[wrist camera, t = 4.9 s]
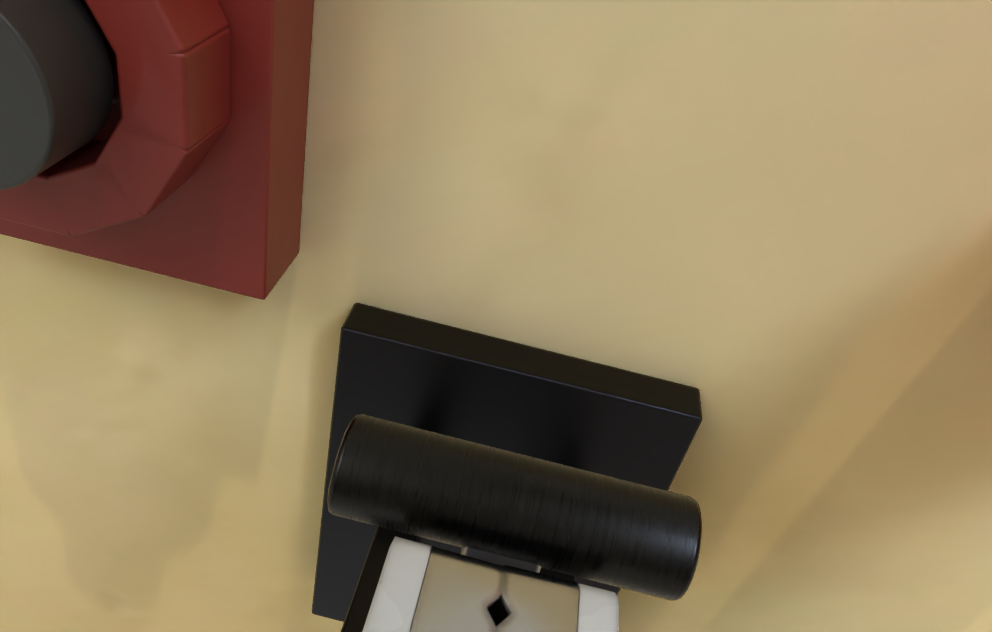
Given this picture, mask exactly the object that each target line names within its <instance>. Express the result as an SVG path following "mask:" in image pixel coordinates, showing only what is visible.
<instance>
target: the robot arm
mask: <svg viewBox="0 0 992 632" xmlns="http://www.w3.org/2000/svg"><path fill="white" fill-rule="evenodd" d="M431 548H432V546H430V545H426V544H423V543H419V542H415V541H411V540H407V539H403V538H399V537H396V536H395V538H394V540H393V542H392V544H391V545H390V547H389V551H388V554H387V557H386V560H385V563H384V566H383V569H382V572H381V575H380V579H379V582H378V585H377V588H376V591H375V594H374V597H373V600H372V603H371V607H370V610H369V613H368V616H367V619H366V622H365V625H364V628H363V631H362V632H619V600H618V598H617V595H616V593H615V592H612V591H608V590H604V589H600V588H596V587H591V586H587V585H583V584H577V582H576V581H571V580H567V579H563V578H559V577H554V576H550V575H546V574H542V573H538V572H533V571H529V570H525V569H521V568H516V567H512V566H508V565H504V566H501V565H498V564H494V563H491V562H487V561H484V560H480V559H476V558H473V557H469V556H466V555H462V554H459V553H455V552H451V551H448V550H444V549H441V548H437V547H434V546H433V548H432V551H431ZM430 553H431V555H430ZM429 557H430V558H429ZM428 561H429V562H428Z"/></svg>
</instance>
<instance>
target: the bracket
mask: <svg viewBox="0 0 992 632" xmlns="http://www.w3.org/2000/svg"><path fill="white" fill-rule="evenodd" d="M360 414H364V415H368V416H372V417H376V418H380V419H384V420H388V421H392V422H396V423H400V424H404V425H407V426H411V427H415V428H419V429H423V430H427V431H431V432H435V433H439V434H443V435H447V436H451V437H455V438H459V439H463V440H467V441H471V442H475V443H479V444H483V445H487V446H491V447H495V448H499V449H503V450H507V451H511V452H515V453H519V454H523V455H527V456H531V457H534V458H538V459H542V460H546V461H550V462H554V463H558V464H562V465H566V466H570V467H574V468H578V469H582V470H586V471H590V472H594V473H598V474H602V475H606V476H610V477H614V478H618V479H622V480H626V481H630V482H634V483H638V484H642V485H646V486H650V487H654V488H657V489H661V490H665V491H668V489H669V487H670V485H671V483H672V481H673V479H674V477H675V475H676V473H677V471H678V468H679V466H680V464H681V462H682V460H683V458H684V456H685V454H686V452H687V450H688V448H689V446H690V444H691V442H692V440H693V438H694V436H695V433H696V431H697V429H698V427H699V425H700V423H701V421H702V411H701V402H700V393H699V389H697V388H694V387H690V386H686V385H682V384H678V383H674V382H670V381H666V380H662V379H658V378H654V377H650V376H646V375H642V374H638V373H634V372H630V371H626V370H622V369H618V368H614V367H610V366H607V365H603V364H599V363H595V362H591V361H587V360H583V359H579V358H575V357H571V356H567V355H563V354H559V353H555V352H551V351H547V350H543V349H539V348H535V347H531V346H527V345H523V344H519V343H515V342H511V341H507V340H503V339H499V338H495V337H491V336H487V335H483V334H479V333H475V332H471V331H467V330H463V329H459V328H455V327H451V326H447V325H443V324H439V323H435V322H431V321H427V320H423V319H419V318H415V317H411V316H407V315H403V314H399V313H396V312H392V311H388V310H384V309H380V308H376V307H372V306H368V305H364V304H360V303H355V304H354V306H353V308H352V309H351V311H350V313H349V315H348V317H347V319H346V320H345V322H344V324H343V326H342V328H341V335H340V344H339V354H338V363H337V373H336V383H335V392H334V402H333V412H332V421H331V431H330V440H329V450H328V460H327V469H326V479H325V489H324V498H323V508H322V518H321V527H320V537H319V546H318V556H317V566H316V575H315V585H314V595H313V604H312V613H313V614H315V615H319V616H323V617H327V618H331V619H335V620H339V621H343V622H344V624H343V627H342V630H341V632H362V631H363V628H364V625H365V622H366V619H367V616H368V613H369V610H370V607H371V603H372V600H373V597H374V594H375V591H376V588H377V585H378V582H379V579H380V575H381V572H382V569H383V566H384V563H385V560H386V557H387V554H388V551H389V547H390V545H391V544H392V542H393V540H394V538H395V536H396V537H399V538H403V539H407V540H411V541H415V542H419V543H423V544H426V545H430V546H432V548H433V546H434V547H437V548H441V549H444V550H448V551H451V552H455V553H459V554H460V553H461V549H462V547H458V546H454V545H450V544H446V543H442V542H438V541H434V540H430V539H426V538H422V537H418V536H414V535H410V534H407V533H403V532H399V531H395V530H391V529H387V528H383V527H379V526H375V525H371V524H367V523H363V522H359V521H355V520H351V519H347V518H343V517H339V516H335V515H333V514H331V513H330V512H329V511H328V503H327V499H328V490H329V485H330V480H331V475H332V471H333V467H334V464H335V460H336V457H337V453H338V450H339V447H340V444H341V442H342V439H343V436H344V434H345V432H346V429H347V427H348V425H349V424H350V422H351V421H352V419H353V418H354V417H355V416H356V415H360ZM432 548H431V551H432ZM430 555H431V553H430ZM429 558H430V557H429ZM428 562H429V561H428ZM540 573H542V574H546V575H550V576H554V577H559V578H563V579H567V580H571V581H576V582H577V584H583V585H587V586H591V587H596V588H600V589H604V590H608V591H612V592H615V593H616V595H617V594H618V592H619V590H620V587H616V586H612V585H608V584H604V583H600V582H596V581H592V580H588V579H585V578H581V577H577V576H573V575H569V574H565V573H561V572H557V571H553V570H549V569H545V568H541V569H540Z"/></svg>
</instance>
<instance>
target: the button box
mask: <svg viewBox="0 0 992 632" xmlns="http://www.w3.org/2000/svg"><path fill="white" fill-rule="evenodd" d="M80 1H81V2H82V4H83V5H84V6H85V8H86V9H87V11H88V12H89V14H90V15H91V17H92V19H93V20H94V22H95V24H96V26H97V28H98V30H99V32H100V34H101V36H102V38H103V41H104V43H105V46H106V48H107V51H108V55H109V58H110V62H111V67H112V74H113V99H112V105H111V109H110V112H109V116H108V118H107V120H106V122H105V124H104V126H103V127H102V129H101V130H100V132H99V133H98V134H97V135H96V136H95V137H94V138H93V139H92V140H91V141H90V142H88V143H87V144H85V145H84V146H82V147H80V148H79V149H77V150H76V151H74V152H73V153H71V154H70V155H68V156H66V157H65V158H63V159H62V160H60V161H59V162H57V163H55V164H54V165H52V166H51V167H49V168H48V169H46V170H45V171H43V172H41V173H40V174H38V175H37V176H35V177H34V178H32V179H30V180H29V181H27V182H26V183H24V184H22V185H19V186H17V187H14V188H10V189H5V190H0V234H3V235H7V236H11V237H15V238H19V239H23V240H27V241H31V242H35V243H39V244H43V245H47V246H51V247H55V248H59V249H63V250H67V251H71V252H75V253H79V254H83V255H87V256H91V257H95V258H99V259H103V260H107V261H111V262H115V263H119V264H123V265H127V266H131V267H135V268H139V269H143V270H147V271H150V272H154V273H158V274H162V275H166V276H170V277H174V278H178V279H182V280H186V281H190V282H194V283H198V284H202V285H206V286H210V287H214V288H218V289H222V290H226V291H230V292H234V293H238V294H242V295H246V296H250V297H254V298H258V299H262V300H264V299H265V298H266V297H267V296H268V294H269V293H270V292H271V290H272V289H273V287H274V286H275V285H276V283H277V282H278V281H279V279H280V278H281V276H282V275H283V274H284V272H285V271H286V270H287V268H288V267H289V265H290V264H291V263H292V261H293V260H294V258H295V257H296V256H297V254H298V253H299V241H300V225H301V208H302V191H303V174H304V158H305V141H306V124H307V107H308V91H309V74H310V57H311V40H312V24H313V7H314V0H80Z"/></svg>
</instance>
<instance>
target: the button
mask: <svg viewBox="0 0 992 632" xmlns="http://www.w3.org/2000/svg"><path fill="white" fill-rule="evenodd" d="M112 99H113V74H112V67H111V62H110V58H109V55H108V51H107V48H106V46H105V43H104V41H103V38H102V36H101V34H100V32H99V30H98V28H97V26H96V24H95V22H94V20H93V19H92V17H91V15H90V14H89V12H88V11H87V9H86V8H85V6H84V5H83V4H82V2H81V1H80V0H0V190H5V189H10V188H14V187H17V186H19V185H22V184H24V183H26V182H27V181H29V180H30V179H32V178H34V177H35V176H37V175H38V174H40V173H41V172H43V171H45V170H46V169H48V168H49V167H51V166H52V165H54V164H55V163H57V162H59V161H60V160H62V159H63V158H65V157H66V156H68V155H70V154H71V153H73V152H74V151H76V150H77V149H79V148H80V147H82V146H84V145H85V144H87V143H88V142H90V141H91V140H92V139H93V138H94V137H95V136H96V135H97V134H98V133H99V132H100V130H101V129H102V127H103V126H104V124H105V122H106V120H107V118H108V116H109V112H110V109H111V105H112Z"/></svg>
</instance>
